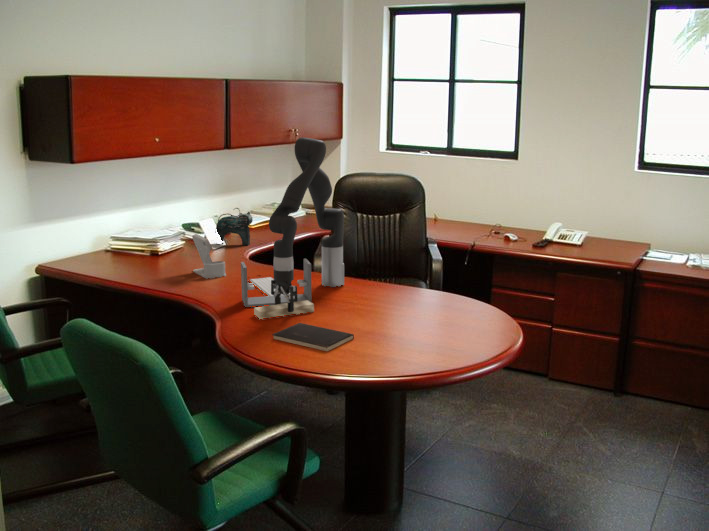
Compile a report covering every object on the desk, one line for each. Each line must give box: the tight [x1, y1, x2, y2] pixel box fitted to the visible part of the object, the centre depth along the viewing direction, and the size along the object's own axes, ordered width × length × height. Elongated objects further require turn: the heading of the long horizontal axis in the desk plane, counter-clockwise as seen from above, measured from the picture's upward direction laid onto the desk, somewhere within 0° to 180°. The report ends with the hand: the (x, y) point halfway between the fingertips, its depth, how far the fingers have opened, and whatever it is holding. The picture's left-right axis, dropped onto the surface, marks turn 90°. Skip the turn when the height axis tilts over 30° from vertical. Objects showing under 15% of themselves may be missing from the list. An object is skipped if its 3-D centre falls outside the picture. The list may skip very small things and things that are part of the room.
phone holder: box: [191, 233, 227, 280], centre depth 350 cm, size 17×10×18 cm, turn 33°
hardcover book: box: [272, 322, 355, 352], centre depth 265 cm, size 16×23×2 cm
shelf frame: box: [240, 258, 313, 308], centre depth 306 cm, size 26×10×16 cm, turn 104°
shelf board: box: [253, 300, 315, 320], centre depth 293 cm, size 22×6×4 cm, turn 118°
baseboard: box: [247, 274, 290, 296], centre depth 327 cm, size 31×3×12 cm
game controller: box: [215, 207, 253, 247], centre depth 412 cm, size 20×6×20 cm, turn 79°
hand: (284, 309), depth 293 cm, fingers open, 8 cm apart
